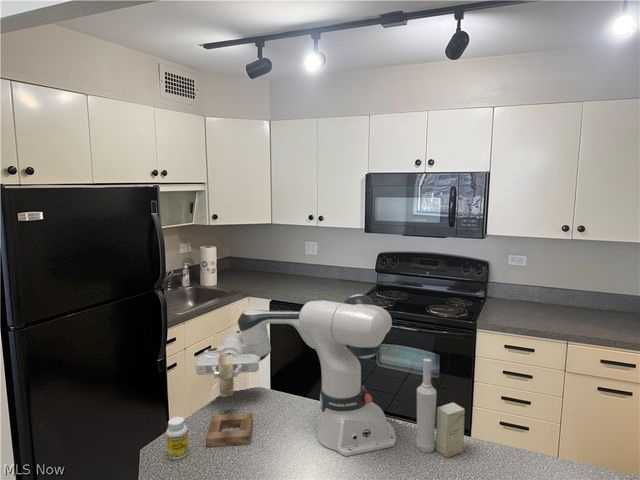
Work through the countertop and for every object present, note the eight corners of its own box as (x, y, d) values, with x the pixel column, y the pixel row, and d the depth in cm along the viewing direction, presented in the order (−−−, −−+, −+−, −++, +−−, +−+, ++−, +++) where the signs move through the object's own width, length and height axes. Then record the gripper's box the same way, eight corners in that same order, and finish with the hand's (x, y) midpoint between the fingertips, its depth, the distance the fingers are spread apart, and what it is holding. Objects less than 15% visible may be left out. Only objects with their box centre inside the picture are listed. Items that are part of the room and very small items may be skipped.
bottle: (420, 439, 118) (421, 354, 115) (437, 445, 115) (440, 359, 112) (412, 448, 114) (414, 361, 111) (430, 455, 111) (433, 365, 108)
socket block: (252, 420, 129) (252, 413, 128) (249, 444, 117) (249, 435, 116) (212, 423, 127) (212, 415, 127) (205, 447, 116) (205, 438, 115)
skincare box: (446, 458, 110) (448, 414, 108) (434, 449, 114) (435, 407, 112) (464, 451, 113) (465, 408, 111) (452, 442, 117) (453, 401, 115)
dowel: (234, 389, 135) (233, 354, 134) (233, 396, 131) (231, 359, 130) (220, 390, 135) (219, 354, 133) (218, 397, 130) (217, 360, 129)
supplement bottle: (185, 445, 117) (183, 413, 115) (191, 455, 112) (189, 421, 111) (165, 452, 114) (163, 419, 112) (170, 462, 109) (168, 428, 108)
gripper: (260, 364, 146) (259, 382, 133) (201, 367, 144) (193, 386, 131) (260, 347, 145) (258, 363, 132) (200, 350, 143) (192, 367, 130)
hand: (225, 375), depth 131 cm, fingers closed on dowel, 4 cm apart
